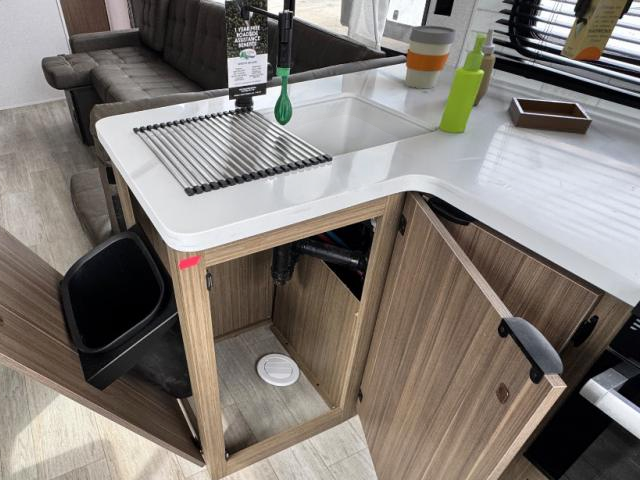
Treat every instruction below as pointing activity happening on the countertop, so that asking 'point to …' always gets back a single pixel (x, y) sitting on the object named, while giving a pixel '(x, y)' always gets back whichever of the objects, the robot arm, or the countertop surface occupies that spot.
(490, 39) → the squeeze bottle
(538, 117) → the tray
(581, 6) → the robot arm
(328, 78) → the countertop surface
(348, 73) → the countertop surface
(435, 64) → the reusable coffee cup
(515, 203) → the countertop surface
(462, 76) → the soap dispenser
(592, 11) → the shoe polish box
